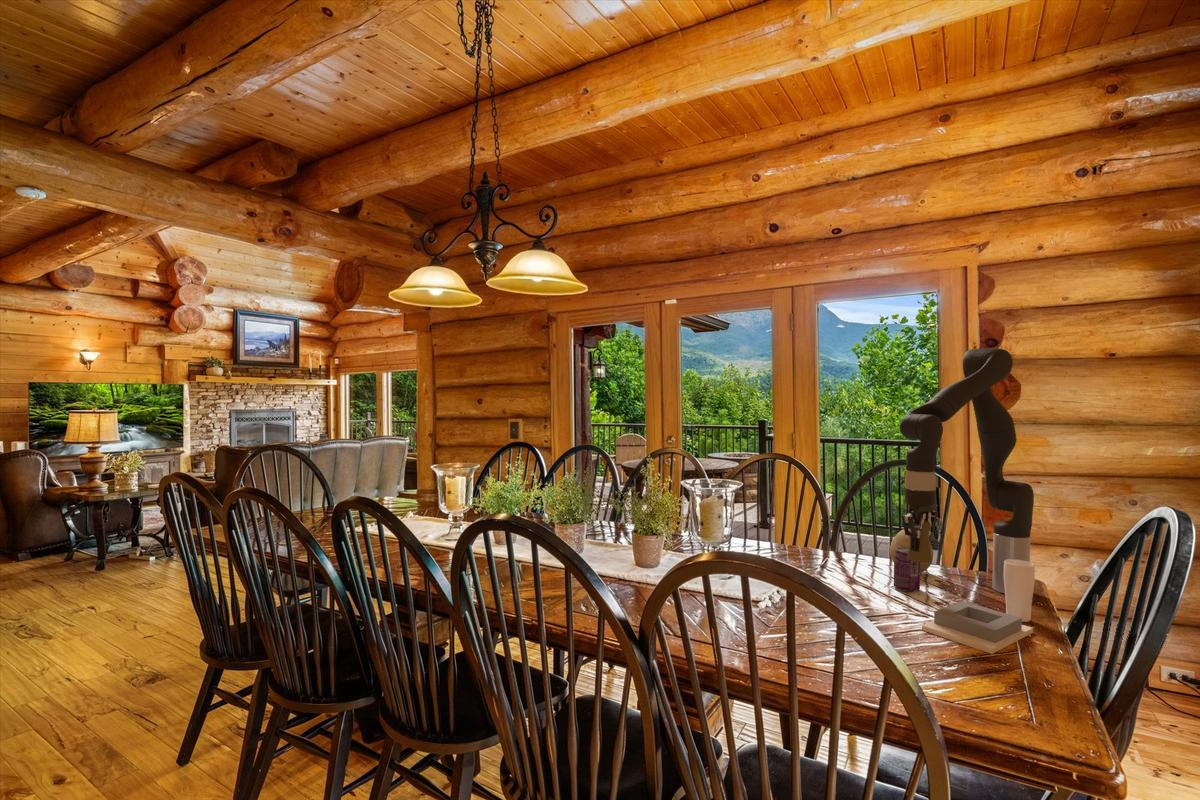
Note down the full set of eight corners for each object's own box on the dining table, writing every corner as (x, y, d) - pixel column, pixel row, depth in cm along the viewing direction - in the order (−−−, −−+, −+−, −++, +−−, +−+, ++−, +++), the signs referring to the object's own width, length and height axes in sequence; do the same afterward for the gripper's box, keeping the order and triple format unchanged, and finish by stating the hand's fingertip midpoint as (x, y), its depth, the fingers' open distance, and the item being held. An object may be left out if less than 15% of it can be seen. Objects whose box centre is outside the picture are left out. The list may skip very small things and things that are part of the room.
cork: (935, 563, 158) (935, 522, 158) (910, 562, 159) (911, 521, 159) (928, 557, 164) (928, 517, 164) (904, 555, 165) (904, 516, 165)
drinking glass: (1030, 616, 158) (1031, 561, 158) (1036, 625, 152) (1038, 567, 152) (1000, 612, 161) (1001, 557, 161) (1005, 621, 155) (1006, 564, 155)
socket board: (964, 612, 161) (965, 597, 161) (1033, 632, 148) (1033, 615, 148) (921, 630, 149) (922, 613, 149) (991, 653, 136) (992, 635, 136)
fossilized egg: (922, 567, 202) (922, 524, 201) (940, 579, 189) (941, 533, 189) (883, 566, 203) (884, 523, 202) (898, 578, 190) (899, 532, 190)
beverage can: (920, 588, 181) (921, 549, 181) (918, 594, 175) (919, 554, 175) (894, 583, 185) (895, 545, 184) (892, 590, 179) (892, 550, 178)
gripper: (920, 483, 168) (920, 543, 168) (892, 487, 160) (891, 550, 161) (948, 486, 162) (947, 549, 162) (919, 491, 154) (918, 557, 155)
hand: (919, 549), depth 161 cm, fingers closed on cork, 3 cm apart
